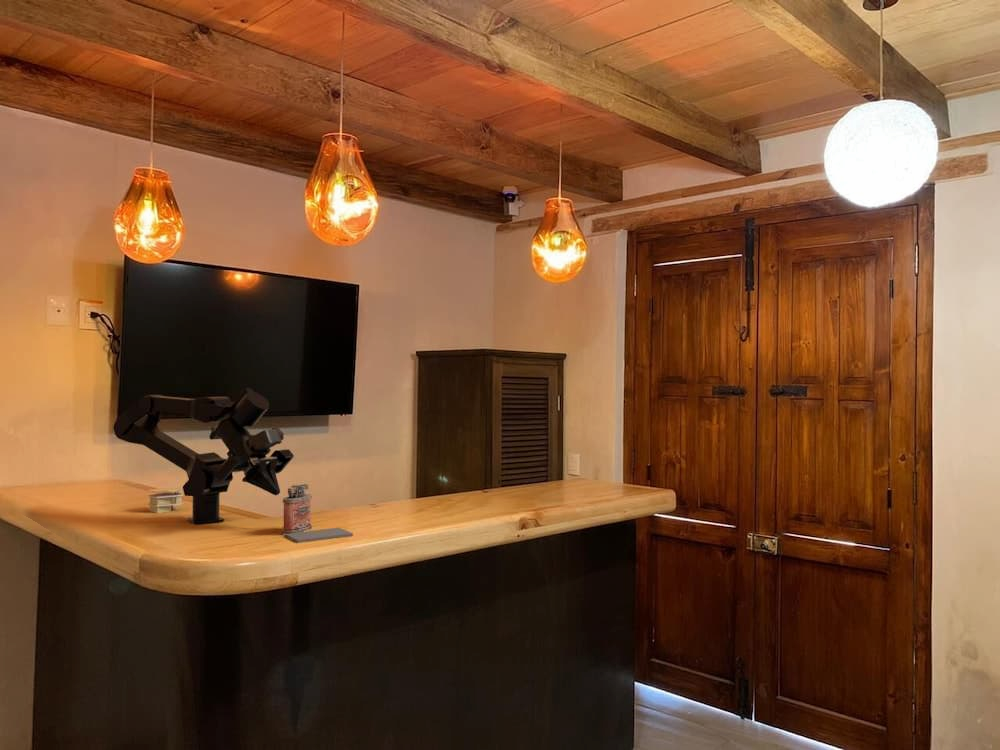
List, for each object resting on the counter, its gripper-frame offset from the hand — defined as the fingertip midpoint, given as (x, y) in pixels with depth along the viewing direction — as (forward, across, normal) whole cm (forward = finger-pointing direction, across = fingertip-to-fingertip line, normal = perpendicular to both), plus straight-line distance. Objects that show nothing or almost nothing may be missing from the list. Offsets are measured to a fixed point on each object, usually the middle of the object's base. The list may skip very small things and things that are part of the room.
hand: (278, 493), depth 162 cm
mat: (+14, -2, -3) cm, 15 cm away
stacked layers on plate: (-22, +6, +33) cm, 40 cm away
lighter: (+9, 0, +2) cm, 9 cm away
